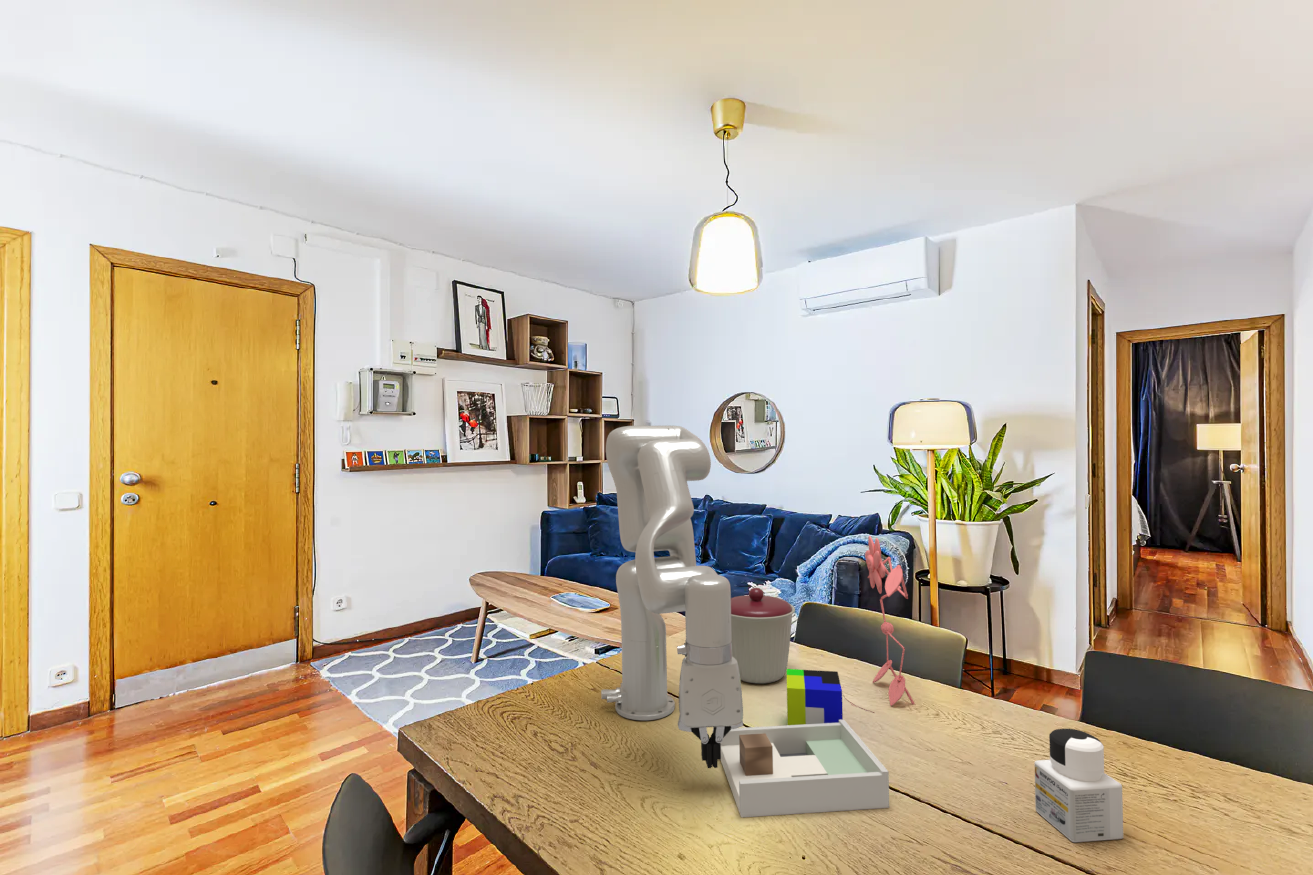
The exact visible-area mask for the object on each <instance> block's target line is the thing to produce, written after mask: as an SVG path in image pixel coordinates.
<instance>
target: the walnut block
mask: <svg viewBox="0 0 1313 875" xmlns="http://www.w3.org/2000/svg"><path fill="white" fill-rule="evenodd" d="M739 750H740V764H741V766H742V768H743V771H744V773H745V776H752V775H768V774H773V746H772V744H771V743H770V741H769V739H768V737H767V735H766V733H764V734H746V735H739Z"/></svg>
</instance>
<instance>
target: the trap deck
mask: <svg viewBox="0 0 1313 875" xmlns="http://www.w3.org/2000/svg"><path fill="white" fill-rule="evenodd" d="M764 733H766V735H767V737H768V739H769V741H770V743H771V744H772V746H773V774H768V775H752V776H745V773H744V771H743V768H742V766H741V764H740V750H739V735H746V734H764ZM720 761H721V765H722V768H723V771H724V773H725V776H726V779H727V781H728V784H729V787H730V790H731V793H732V796H733V798H734V802H735V804H736V807H737V810H738V813H739V816H740V818H750V817H751V818H752V817H753V818H754V817H767V816H769V817H770V816H780V815H781V816H782V815H784V816H785V815H797V814H799V815H800V814H813V813H828V812H829V813H830V812H839V811H840V812H843V811H857V810H858V811H859V810H874V809H887V808H888V809H889V808H890V785H889V784H890V782H889V781H890V779H889V776H890V775H889V773H890V772H889V770H888V769H887V768H886V767H885V765H883V763H882V762H881V761H880V759H878V757H877V756H876V755H875V754H874V753H873V752H872V751H871V749H870V747H868V745H867V744H865V742H864V741H863V739H861V738H860V736H859V735H858V734H857V733H856V732H855V730H854V729H853V728H852V727H851V725H849V723H848V722H847V721H846V720H845V719H843V720H839V723H822V724H804V725H788V724H787V725H772V726H752V727H751V726H750V727H739V728H736V729H731V730H730V731H729V732H728V733H727V734H726V736H725V737H724V738H723V741H722V742H721V760H720Z"/></svg>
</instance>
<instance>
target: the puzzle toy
mask: <svg viewBox="0 0 1313 875" xmlns="http://www.w3.org/2000/svg"><path fill="white" fill-rule="evenodd" d="M842 693H843V688H842V686H841V682H840V676H839V672H838V671H834V670H833V671H830V670H818V669H817V670H816V669H815V670H814V669H813V670H812V669H799V668H798V669H797V668H795V669H794V668H787V669H786V709H787V710H786V712H787V713H786V714H787V720H786V721H787V725H804V724H822V723H839V720H844V718H843V715H844V714H843V711H844V710H843V694H842Z"/></svg>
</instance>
